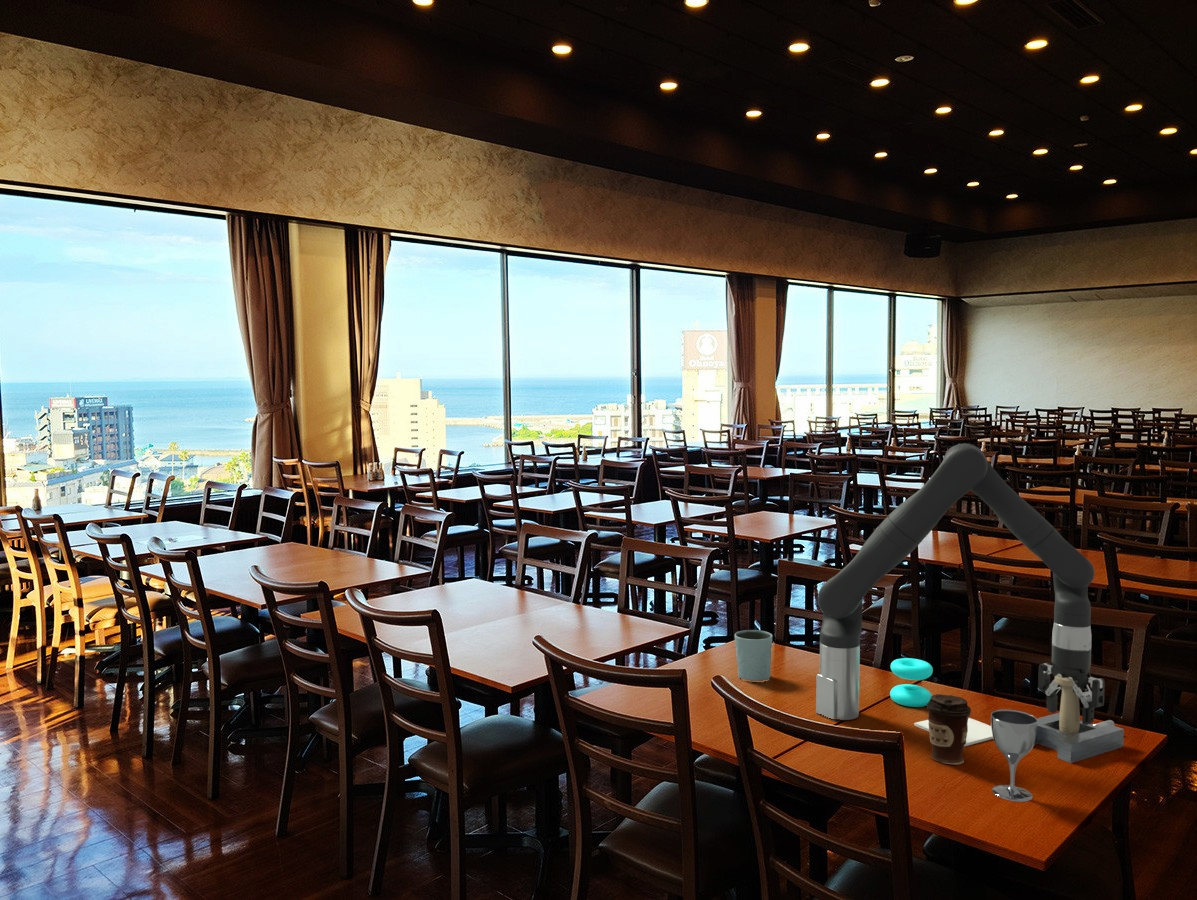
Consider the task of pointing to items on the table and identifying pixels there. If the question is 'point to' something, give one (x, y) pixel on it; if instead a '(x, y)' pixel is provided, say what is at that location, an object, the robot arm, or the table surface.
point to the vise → (1078, 738)
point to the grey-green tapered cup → (753, 654)
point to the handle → (1068, 707)
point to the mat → (974, 734)
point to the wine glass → (1013, 747)
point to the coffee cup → (948, 727)
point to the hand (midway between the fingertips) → (1069, 717)
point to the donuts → (909, 692)
